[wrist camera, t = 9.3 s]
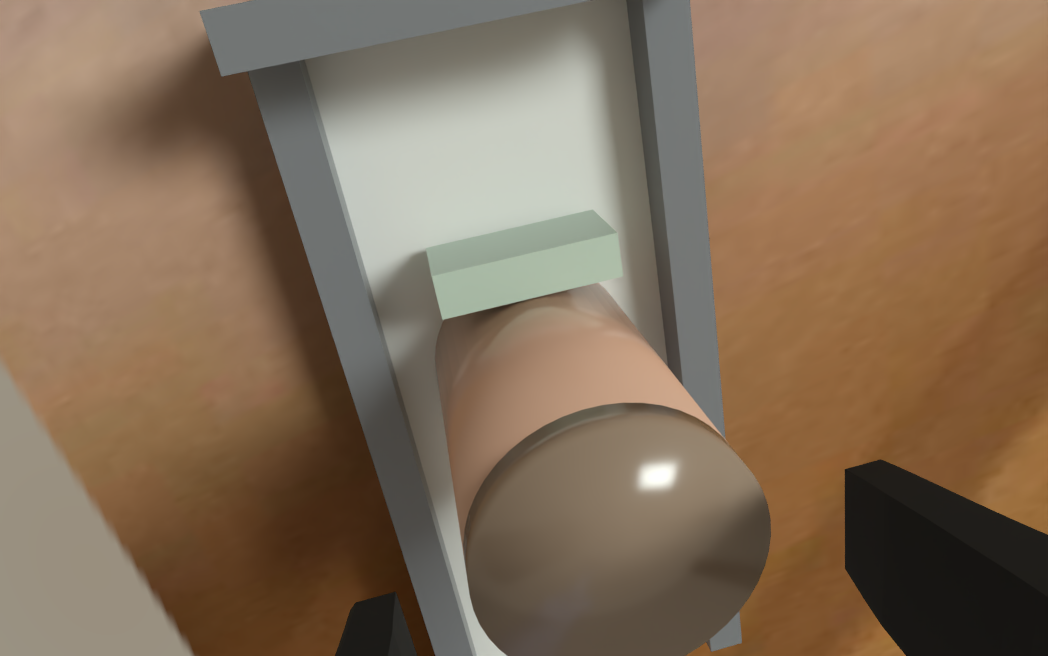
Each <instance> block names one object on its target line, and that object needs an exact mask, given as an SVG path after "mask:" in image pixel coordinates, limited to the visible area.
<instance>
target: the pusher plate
mask: <svg viewBox="0 0 1048 656" xmlns="http://www.w3.org/2000/svg"><path fill="white" fill-rule="evenodd" d="M426 252H427V256H428V261H429V266H430V271H431V276H432V280H433V284H434V288H435V292H436V296H437V300H438V304H439V308H440V312H441V316H442V320H444V319H448V318H452V317H457V316H461V315H465V314H469V313H473V312H477V311H482V310H486V309H490V308H494V307H498V306H502V305H507V304H511V303H515V302H519V301H523V300H527V299H531V298H536V297H540V296H544V295H548V294H552V293H556V292H561V291H565V290H569V289H573V288H577V287H581V286H586V285H590V284H594V283H598V282H602V281H606V280H610V279H615V278H619V277H623V270H622V263H621V256H620V248H619V241H618V233H617V232H616V231H615V230H614V229H613V228H612V227H611V226H610V225H609V224H608V223H607V222H606V221H604V220H603V219H602V218H601V217H600V216H599V215H598V214H597V213H596V212H595V211H594V210H593V209H592V210H588V211H584V212H579V213H575V214H571V215H566V216H562V217H558V218H553V219H549V220H545V221H540V222H536V223H532V224H528V225H523V226H519V227H515V228H510V229H506V230H502V231H497V232H493V233H489V234H484V235H480V236H476V237H471V238H467V239H463V240H458V241H454V242H450V243H445V244H441V245H437V246H432V247H428V248H426Z"/></svg>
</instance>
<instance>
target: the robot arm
mask: <svg viewBox="0 0 1048 656" xmlns="http://www.w3.org/2000/svg"><path fill="white" fill-rule="evenodd" d="M845 569H846V571H847V572H848V574H849V575H850V577H851V579H852V580H853V582H854V583H855V585H856V587H857V588H858V590H859V591H860V593H861V595H862V596H863V598H864V599H865V601H866V603H867V604H868V606H869V607H870V609H871V610H872V612H873V613H874V615H875V616H876V618H877V619H878V621H879V622H880V624H881V625H882V626H883V628H884V629H885V630H886V631H887V633H888V634H889V635H890V636H891V638H892V639H893V640H894V641H895V643H896V644H897V645H898V646H899V647H900V649H901V650H902V651H903V652H904V654H905V655H906V656H1048V535H1047V534H1045V533H1042V532H1040V531H1037V530H1035V529H1033V528H1031V527H1028V526H1026V525H1024V524H1021V523H1019V522H1017V521H1015V520H1012V519H1010V518H1008V517H1006V516H1004V515H1001V514H999V513H997V512H995V511H992V510H990V509H988V508H986V507H984V506H982V505H979V504H977V503H975V502H973V501H971V500H969V499H966V498H964V497H962V496H960V495H958V494H956V493H954V492H951V491H949V490H947V489H945V488H943V487H941V486H939V485H937V484H934V483H932V482H930V481H928V480H926V479H924V478H921V477H919V476H917V475H915V474H913V473H911V472H908V471H906V470H904V469H902V468H900V467H897V466H895V465H893V464H890V463H888V462H886V461H883V460H877V461H874V462H870V463H866V464H863V465H859V466H855V467H852V468H848V469H845ZM335 656H417V653H416V650H415V647H414V644H413V641H412V638H411V635H410V632H409V630H408V627H407V624H406V621H405V618H404V615H403V612H402V609H401V606H400V603H399V600H398V597H397V594H396V592H393V593H389V594H386V595H382V596H378V597H375V598H371V599H367V600H364V601H360V602H356V603H355V604H354V606H353V607H352V609H351V610H350V613H349V616H348V619H347V622H346V626H345V629H344V631H343V634H342V637H341V640H340V643H339V646H338V649H337V652H336V654H335Z"/></svg>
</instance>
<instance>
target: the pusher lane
mask: <svg viewBox="0 0 1048 656" xmlns="http://www.w3.org/2000/svg"><path fill="white" fill-rule="evenodd" d="M200 14H201V17H202V20H203V23H204V26H205V29H206V32H207V35H208V38H209V41H210V44H211V47H212V50H213V53H214V56H215V59H216V62H217V65H218V68H219V71H220V74H221V77H222V76H227V75H231V74H236V73H241V72H246V71H248V75H249V78H250V81H251V84H252V87H253V90H254V93H255V96H256V99H257V102H258V106H259V109H260V112H261V115H262V118H263V121H264V124H265V127H266V130H267V134H268V137H269V140H270V143H271V146H272V149H273V152H274V155H275V158H276V162H277V165H278V168H279V171H280V174H281V177H282V180H283V183H284V186H285V190H286V193H287V196H288V199H289V202H290V205H291V208H292V211H293V214H294V218H295V221H296V224H297V227H298V230H299V233H300V236H301V239H302V242H303V245H304V249H305V252H306V255H307V258H308V261H309V264H310V267H311V270H312V273H313V277H314V280H315V283H316V286H317V289H318V292H319V295H320V298H321V301H322V305H323V308H324V311H325V314H326V317H327V320H328V323H329V326H330V329H331V333H332V336H333V339H334V342H335V345H336V348H337V351H338V354H339V357H340V360H341V364H342V367H343V370H344V373H345V376H346V379H347V382H348V385H349V388H350V392H351V395H352V398H353V401H354V404H355V407H356V410H357V413H358V416H359V420H360V423H361V426H362V429H363V432H364V435H365V438H366V441H367V444H368V448H369V451H370V454H371V457H372V460H373V463H374V466H375V469H376V472H377V476H378V479H379V482H380V485H381V488H382V491H383V494H384V497H385V500H386V503H387V507H388V510H389V513H390V516H391V519H392V522H393V525H394V528H395V531H396V535H397V538H398V541H399V544H400V547H401V550H402V553H403V556H404V559H405V563H406V566H407V569H408V572H409V575H410V578H411V581H412V584H413V587H414V591H415V594H416V597H417V600H418V603H419V606H420V609H421V612H422V615H423V619H424V622H425V625H426V628H427V631H428V634H429V637H430V640H431V643H432V646H433V650H434V653H435V656H507V655H506V654H504V653H503V652H502V651H501V650H499V649H498V648H497V647H496V645H495V644H494V643H493V642H492V641H491V640H490V639H489V638H488V636H487V635H486V633H485V632H484V630H483V629H482V627H481V626H480V624H479V622H478V620H477V617H476V615H475V613H474V611H473V607H472V603H471V599H470V595H469V588H468V581H467V575H466V568H465V561H464V555H463V548H462V542H461V535H460V528H459V522H458V515H457V508H456V502H455V495H454V488H453V482H452V475H451V468H450V462H449V455H448V448H447V442H446V435H445V428H444V422H443V415H442V408H441V402H440V395H439V388H438V382H437V375H436V367H435V347H436V342H437V337H438V333H439V331H440V328H441V325H442V323H443V321H444V320H442V316H441V312H440V308H439V304H438V300H437V296H436V292H435V288H434V284H433V280H432V276H431V271H430V266H429V261H428V256H427V252H426V248H428V247H432V246H437V245H441V244H445V243H450V242H454V241H458V240H463V239H467V238H471V237H476V236H480V235H484V234H489V233H493V232H497V231H502V230H506V229H510V228H515V227H519V226H523V225H528V224H532V223H536V222H540V221H545V220H549V219H553V218H558V217H562V216H566V215H571V214H575V213H579V212H584V211H588V210H592V209H593V210H594V211H595V212H596V213H597V214H598V215H599V216H600V217H601V218H602V219H603V220H604V221H606V222H607V223H608V224H609V225H610V226H611V227H612V228H613V229H614V230H615V231H616V232H617V233H618V241H619V248H620V256H621V263H622V270H623V277H619V278H615V279H610V280H606V281H602V282H598V283H600V284H601V285H602V286H603V287H604V288H605V289H606V290H607V291H608V293H609V294H610V295H611V296H612V297H613V299H614V300H615V301H616V302H617V304H618V305H619V306H620V308H621V309H622V310H623V311H624V313H625V314H626V315H627V316H628V318H629V319H630V320H631V321H632V323H633V324H634V325H635V326H636V328H637V329H638V330H639V331H640V333H641V334H642V335H643V336H644V338H645V339H646V340H647V342H648V343H649V344H650V345H651V347H652V348H653V349H654V350H655V352H656V353H657V354H658V355H659V357H660V358H661V359H662V360H663V362H664V363H665V364H666V365H667V367H668V368H669V369H670V370H671V372H672V373H673V374H674V376H675V377H676V378H677V379H678V381H679V382H680V383H681V384H682V386H683V387H684V388H685V389H686V391H687V392H688V393H689V394H690V396H691V397H692V398H693V399H694V401H695V402H696V403H697V404H698V406H699V407H700V408H701V410H702V411H703V412H704V413H705V415H706V416H707V417H708V418H709V420H710V421H711V422H712V423H713V425H714V426H715V427H716V428H717V430H718V431H719V432H720V433H721V435H722V436H723V437H724V438H725V430H724V417H723V405H722V392H721V380H720V368H719V355H718V343H717V331H716V318H715V306H714V294H713V281H712V269H711V257H710V244H709V232H708V219H707V207H706V195H705V182H704V170H703V158H702V145H701V133H700V121H699V108H698V96H697V84H696V71H695V59H694V47H693V34H692V22H691V9H690V0H253V1H248V2H243V3H238V4H233V5H228V6H223V7H218V8H213V9H208V10H202V11H200ZM706 643H707V645H708V646H709V648H710V650H711V652H712V651H715V650H719V649H722V648H725V647H729V646H732V645H736V644H739V643H742V640H741V627H740V615H739V612H738V613H737V614H736V615H735V616H734V617H733V618H732V619H731V620H730V622H729V623H728V624H727V625H726V626H725V627H723V628H722V629H721V630H720V631H719V632H718V633H717V634H716V635H714V636H713V637H712V638H711V639H709V640H708V641H707V642H706Z"/></svg>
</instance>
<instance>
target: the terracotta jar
mask: <svg viewBox="0 0 1048 656" xmlns="http://www.w3.org/2000/svg"><path fill="white" fill-rule="evenodd" d="M435 367H436V375H437V382H438V388H439V395H440V402H441V408H442V415H443V422H444V428H445V435H446V442H447V448H448V455H449V462H450V468H451V475H452V482H453V488H454V495H455V502H456V508H457V515H458V522H459V528H460V535H461V542H462V548H463V555H464V561H465V568H466V575H467V581H468V588H469V595H470V599H471V603H472V607H473V611H474V613H475V615H476V617H477V620H478V622H479V624H480V626H481V627H482V629H483V630H484V632H485V633H486V635H487V636H488V638H489V639H490V640H491V641H492V642H493V643H494V644H495V645H496V647H497V648H498V649H499V650H501V651H502V652H503V653H504V654H506V655H507V656H685V655H687V654H688V653H690V652H692V651H693V650H695V649H697V648H698V647H700V646H701V645H702V644H704V643H705V642H707V641H708V640H709V639H711V638H712V637H713V636H714V635H716V634H717V633H718V632H719V631H720V630H721V629H722V628H723V627H725V626H726V625H727V624H728V623H729V622H730V620H731V619H732V618H733V617H734V616H735V615H736V614H737V613H738V612H739V610H740V609H741V608H742V606H743V605H744V604H745V602H746V601H747V600H748V598H749V597H750V595H751V593H752V592H753V590H754V588H755V586H756V585H757V583H758V581H759V578H760V576H761V574H762V571H763V569H764V566H765V563H766V559H767V556H768V552H769V545H770V537H771V524H770V515H769V510H768V504H767V501H766V499H765V496H764V493H763V491H762V488H761V487H760V485H759V483H758V482H757V480H756V478H755V476H754V475H753V474H752V472H751V471H750V470H749V469H748V467H747V466H746V465H745V464H744V462H743V461H742V460H741V459H740V457H739V456H738V455H737V454H736V452H735V451H734V450H733V449H732V447H731V446H730V445H729V444H728V442H727V441H726V440H725V438H724V437H723V436H722V435H721V433H720V432H719V431H718V430H717V428H716V427H715V426H714V425H713V423H712V422H711V421H710V420H709V418H708V417H707V416H706V415H705V413H704V412H703V411H702V410H701V408H700V407H699V406H698V404H697V403H696V402H695V401H694V399H693V398H692V397H691V396H690V394H689V393H688V392H687V391H686V389H685V388H684V387H683V386H682V384H681V383H680V382H679V381H678V379H677V378H676V377H675V376H674V374H673V373H672V372H671V370H670V369H669V368H668V367H667V365H666V364H665V363H664V362H663V360H662V359H661V358H660V357H659V355H658V354H657V353H656V352H655V350H654V349H653V348H652V347H651V345H650V344H649V343H648V342H647V340H646V339H645V338H644V336H643V335H642V334H641V333H640V331H639V330H638V329H637V328H636V326H635V325H634V324H633V323H632V321H631V320H630V319H629V318H628V316H627V315H626V314H625V313H624V311H623V310H622V309H621V308H620V306H619V305H618V304H617V302H616V301H615V300H614V299H613V297H612V296H611V295H610V294H609V293H608V291H607V290H606V289H605V288H604V287H603V286H602V285H601V284H600V283H594V284H590V285H586V286H581V287H577V288H573V289H569V290H565V291H561V292H556V293H552V294H548V295H544V296H540V297H536V298H531V299H527V300H523V301H519V302H515V303H511V304H507V305H502V306H498V307H494V308H490V309H486V310H482V311H477V312H473V313H469V314H465V315H461V316H457V317H452V318H448V319H444V321H443V323H442V325H441V328H440V331H439V333H438V337H437V342H436V347H435Z"/></svg>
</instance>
